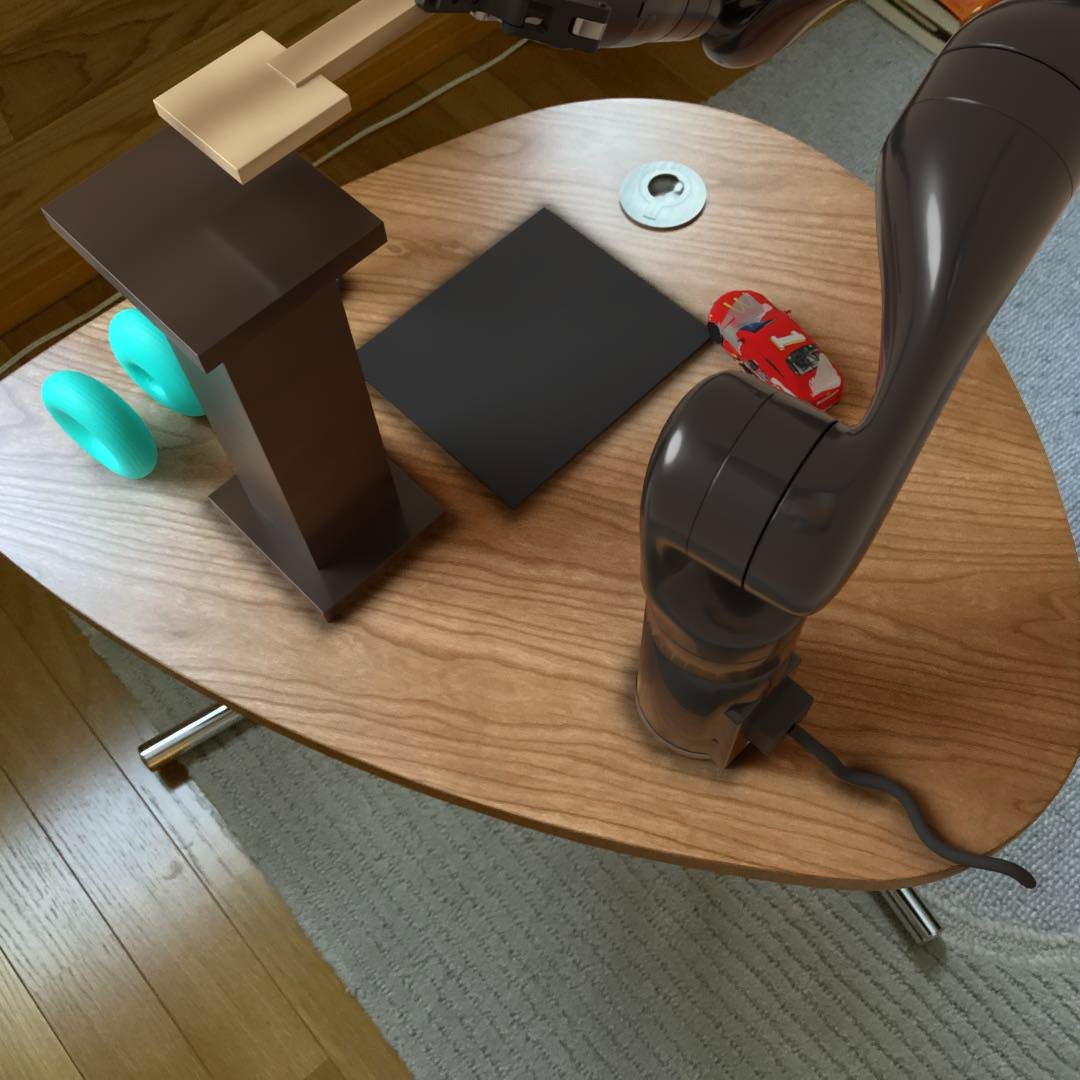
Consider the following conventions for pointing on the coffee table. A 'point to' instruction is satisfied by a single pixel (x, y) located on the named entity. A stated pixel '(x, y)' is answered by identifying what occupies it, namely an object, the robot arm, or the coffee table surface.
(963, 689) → the coffee table surface
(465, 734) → the coffee table surface
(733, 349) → the race car
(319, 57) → the spatula
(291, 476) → the stand
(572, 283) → the mat
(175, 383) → the donuts
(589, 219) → the coffee table surface
